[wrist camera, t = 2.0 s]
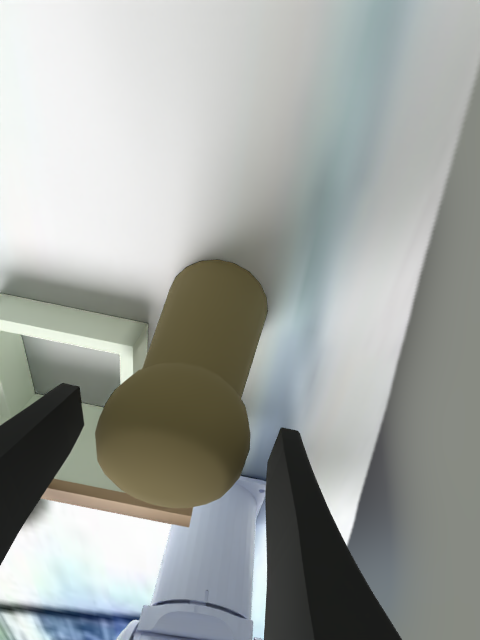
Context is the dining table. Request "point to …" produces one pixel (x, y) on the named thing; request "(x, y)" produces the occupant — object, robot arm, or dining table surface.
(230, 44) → the dining table surface
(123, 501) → the stand
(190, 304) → the cork
